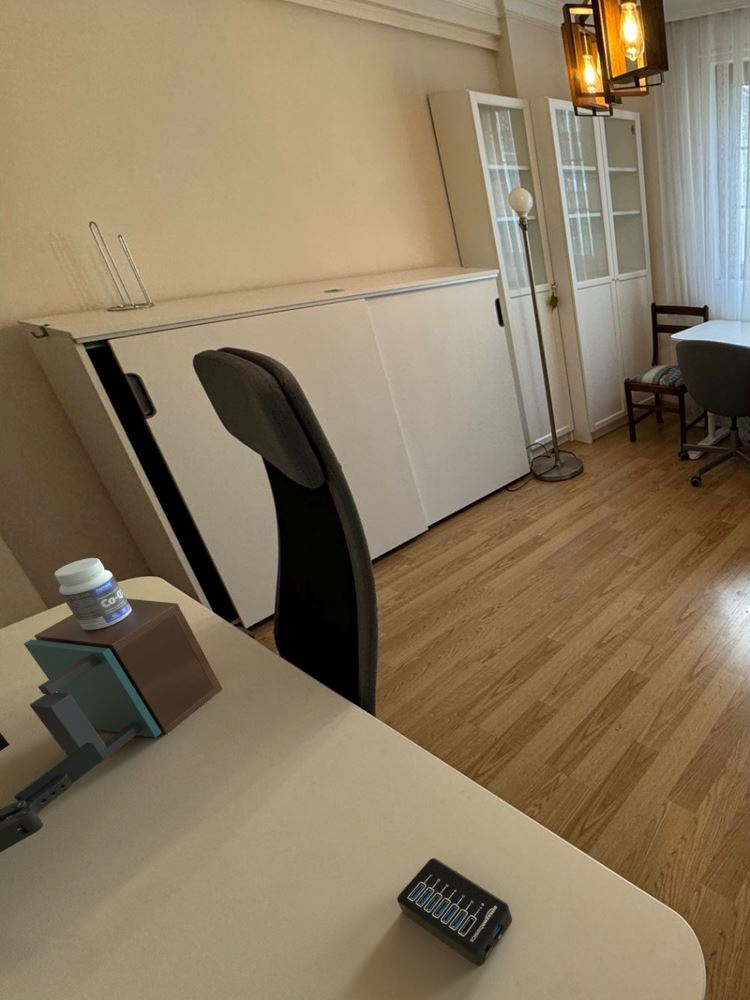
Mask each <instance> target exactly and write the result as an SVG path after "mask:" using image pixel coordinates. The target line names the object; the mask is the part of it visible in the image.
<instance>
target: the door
mask: <svg viewBox="0 0 750 1000" xmlns="http://www.w3.org/2000/svg"><path fill="white" fill-rule="evenodd" d="M23 646H25V648H26V650H27V651H28V652H29V654H30V655H31V656H32V658H33V660H34V661H35V662H36V664H37V665H38V666H39V668H40V669H41V671H42V673H43V674H44V675H45V677H46V678H47V680H46V681H45V682H43V683H42V684H40V685H39V686H37V688H38V689H39V690H40V693H42V696H40V697H39V698H37V699H36V700H35V701H33V702H31V703H30V704H29V707H30V708H31V709H32V711H33V712H34V713H35V715H36V716H37V717H38V718H39V720H40V721H41V723H42V724H43V725H44V726H45V728H46V729H47V731H48V732H49V733H50V735H51V737H52V738H53V739H54V740H55V742H56V743H57V745H58V746H59V747H60V749H61V750H62V752H63V753H64V754H65V756H66V757H68V756H69V755H71V754H72V753H73V752H75V751H76V750H77V749H79V748H80V747H81V746H83V745H84V744H86V743H87V742H89V743H93V744H94V746H95V747H96V749H97V750H98V752H99V753H100V754H101V756H102V757H103V760H102V761H101V762H99V763H98V764H101V763H102V762H104V761H105V760H106V759H108V758H109V757H110V756H111V755H112V754H114V753H115V752H117V751H118V750H119V749H121V747H123V746H124V745H126V744H127V743H128V742H129V741H131V740H132V739H134V737H135V736H140V737H141V736H142V737H148V738H149V737H150V738H157V737H158V736H159V735H162V733H161V731H160V729H159V728H158V726H157V724H156V723H155V721H154V720H153V718H152V716H151V715H150V713H149V712H148V710H147V708H146V707H145V705H144V703H143V702H142V700H141V699H140V697H139V695H138V694H137V692H136V691H135V689H134V687H133V686H132V684H131V682H130V681H129V679H128V678H127V676H126V674H125V673H124V671H123V670H122V668H121V666H120V665H119V663H118V661H117V660H116V658H115V657H114V655H113V653H112V652H111V650H110V649H109V648H101V647H93V646H84V645H75V644H67V643H58V642H49V641H40V640H37V639H29V640H28V641H26V642H25V643H23ZM97 730H100V731H107V732H112V733H113V732H114V733H116V734H114V735H113V736H112V737H111V738H109V739H108V740H107V741H103V739H102V738H101V736H100V735H99V733H98V732H97Z"/></svg>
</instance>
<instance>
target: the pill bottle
mask: <svg viewBox="0 0 750 1000" xmlns="http://www.w3.org/2000/svg"><path fill="white" fill-rule="evenodd" d="M54 577H55V579H56V580H57V583H58V584H59V585H60V586H59V588H58V592H59V594H60V595H61V598H62V599H63V600H64V602H65V603H66V605H67V606H68V608H69V610H70V611H71V613H72V614H74V616H75V618H76V619H77V621H78V623H79V624H80V626H81V627H82V628H83V629H85V630H95V629H100V628H104V627H107V626H110V625H113V624H115V623H117V622H119V621H121V620H122V619H124V618H125V617H126V616H127V615H128V614H129V613H130V612H131V610H132V609H131V607H130V605H129V603H128V601H127V600H126V598H127V597H126V596H125V594H124V593H123V591H122V588H121V587H120V585H119V584H118V582H117V579H116V578H115V576H114V574H113V573H112V572H111V571H110V570H107V569H105V567H104V565H103V563H102V562H101V560H100V559H99V558H96V557H89V558H84V559H83V558H82V559H80V560H76V561H74V562H70V563H68V564H66V565H63V566H61V567H60V568H58V569H57V570H56V571H55V572H54Z"/></svg>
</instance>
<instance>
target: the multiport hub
mask: <svg viewBox="0 0 750 1000" xmlns="http://www.w3.org/2000/svg"><path fill="white" fill-rule="evenodd" d="M396 898H397V899H396V900H397V903H398V905H399V908H400V909H401V912H402V914H403V915H404V916H406V917H407V918H408V919H410V920H411V921H412V922H413V923H416V924H417V925H418V926H419V927H421V928H422V929H424V930H425V931H426V932H428V933H430V934H431V935H432V936H434V937H435V938H436V939H438V940H439V941H440V942H442V943H444V944H445V945H446V946H448V947H449V948H450V949H452V950H454V951H455V952H457V954H459V955H460V956H462V957H464V958H465V959H466V960H467V961H469V962H471V963H472V964H473V965H475V966H476V967H480V966H482V965H484V963H485V962H486V961H487V959H488V957H489V956H490V955H491V953H492V952H493V950H494V948H495V947H496V946H497V944H498V943H499V941H500V940H501V938H502V937H503V935H504V934H505V932H506V931H507V930H508V928H509V927H510V925H511V924H512V921H513V917H512V914H511V910H510V906H509V904H508V903H507V902H505V901H504V900H502V899H500V898H499V897H497V896H496V895H494V894H493V893H491V892H489V890H486V889H485V888H483V887H481V886H480V885H479V884H477V883H475V882H474V881H472V880H470V879H469V878H467V877H466V876H464V875H462V874H461V873H460V872H458V871H456V870H455V869H453V868H451V867H450V866H448V865H447V864H445V863H443V862H442V861H441V860H439V859H437V858H435V857H432V858H430V859H429V860H428V861H427V862H426V863H425V864H424V865H423V867H422V868H421V869H420V870H419V871H418V872H417V874H416V875H415V876H413V878H412V879H411V880H410V881H409V883H408V884H407V885H406V886H405V888H404V889H403V890H402V891H401V892H399V894H398V895H397V897H396Z"/></svg>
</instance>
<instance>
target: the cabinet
mask: <svg viewBox="0 0 750 1000" xmlns="http://www.w3.org/2000/svg"><path fill="white" fill-rule="evenodd" d="M125 598H126V600H127V601H128V603H129V605H130V607H131V609H132V610H131V612H130V613H129V614H128V615H127V616H126V617H125V618H124V619H122V620H121V621H119V622H117V623H115V624H113V625H110V626H107V627H104V628H100V629H95V630H85V629H83V628H82V627H81V626H80V624H79V623H78V621H77V619H76V618H75V616H74V614H73V613H72V614H71V615H69V616H67V617H65V618H63V619H62V620H60V621H58V622H56V623H54V624H53V625H51V626H48V627H47V628H46V629H43V630H42V631H40V632H37V633H36V634H35V635H34V636H33V637H34V638H35V640H40V641H49V642H58V643H67V644H75V645H84V646H93V647H101V648H109V649H110V650H111V652H112V653H113V655H114V657H115V658H116V660H117V661H118V663H119V665H120V666H121V668H122V670H123V671H124V673H125V674H126V676H127V678H128V679H129V681H130V682H131V684H132V686H133V687H134V689H135V691H136V692H137V694H138V695H139V697H140V699H141V700H142V702H143V703H144V705H145V707H146V708H147V710H148V712H149V713H150V715H151V716H152V718H153V720H154V721H155V723H156V724H157V726H158V728H159V729H160V731H161V735H162V734H163V735H168V734H169V733H170V732H171V731H173V730H174V729H176V727H177V726H179V725H180V724H181V723H182V722H184V721H185V720H186V719H188V717H190V716H191V715H192V714H193V713H195V712H196V711H197V710H199V709H200V707H202V706H203V705H204V704H206V703H207V702H208V701H209V700H211V699H212V698H213V697H214V696H216V695H217V694H218V693H219V692H220V691H221V690H222V689H223V687H222V685H221V683H220V681H219V680H218V677H217V676H216V674H215V672H214V670H213V668H212V665H211V664H210V662H209V661H208V659H207V657H206V655H205V652H204V651H203V649H202V647H201V645H200V643H199V642H198V639H197V637H196V635H195V634H194V632H193V630H192V628H191V626H190V625H189V623H188V621H187V619H186V617H185V615H184V613H183V611H182V610H181V607H180V605H179V604H178V603H177V602H176V603H175V602H165V601H157V600H146V599H137V598H136V599H135V598H127V597H125Z"/></svg>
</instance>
